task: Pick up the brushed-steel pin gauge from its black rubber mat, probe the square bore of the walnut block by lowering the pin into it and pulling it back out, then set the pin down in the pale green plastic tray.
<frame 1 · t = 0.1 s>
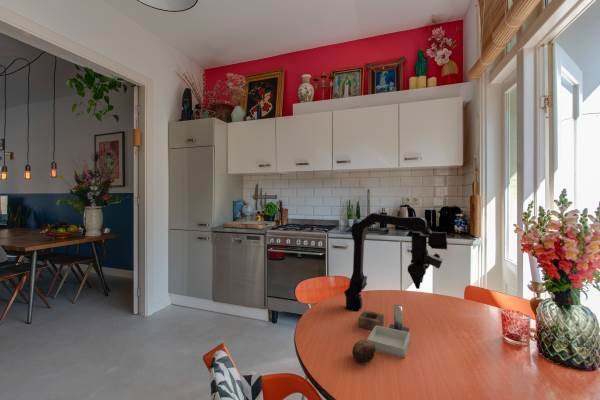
hand: (419, 285, 111), 15 cm above the table, fingers open, 9 cm apart
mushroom: (363, 361, 84), on the table
tray: (388, 344, 93), on the table
mat: (398, 330, 103), on the table
pin: (398, 329, 103), resting on mat
block: (371, 325, 107), on the table
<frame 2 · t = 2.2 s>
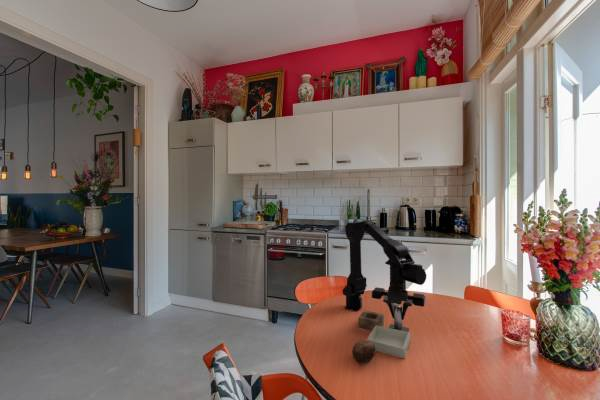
hand: (398, 318, 103), 5 cm above the table, fingers closed on pin, 3 cm apart
pin: (398, 329, 103), resting on mat, touching gripper
everything else where it was.
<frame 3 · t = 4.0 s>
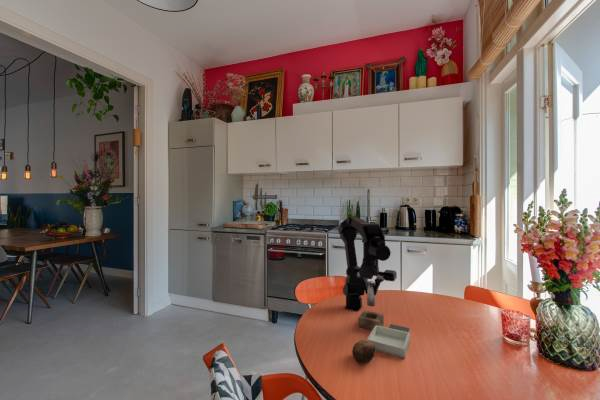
hand: (371, 294, 107), 12 cm above the table, fingers closed on pin, 3 cm apart
pin: (371, 304, 107), point 8 cm above the table, touching gripper
everything else where it was.
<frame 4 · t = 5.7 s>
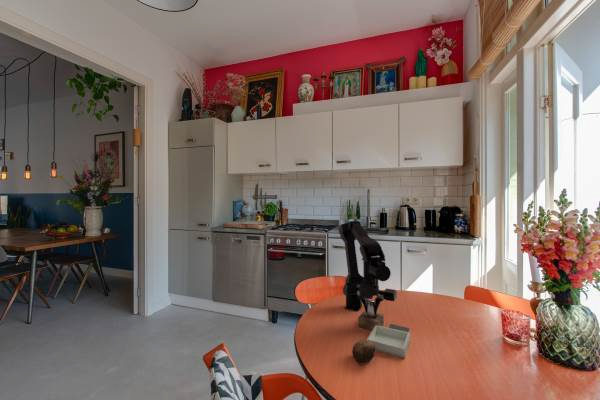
hand: (371, 313, 107), 5 cm above the table, fingers closed on pin, 3 cm apart
pin: (371, 323, 107), point 1 cm above the table, touching gripper
everything else where it was.
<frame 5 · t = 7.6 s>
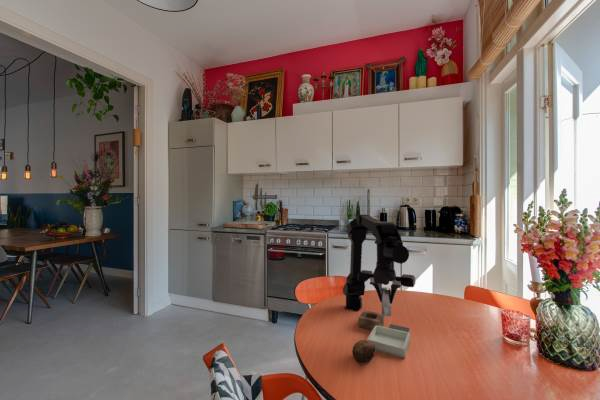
hand: (386, 302, 95), 14 cm above the table, fingers closed on pin, 3 cm apart
pin: (386, 314, 94), point 10 cm above the table, touching gripper
everything else where it was.
when the fingers open (6 cm above the table, at t = 9.2 s): pin drops 1 cm, resting on tray.
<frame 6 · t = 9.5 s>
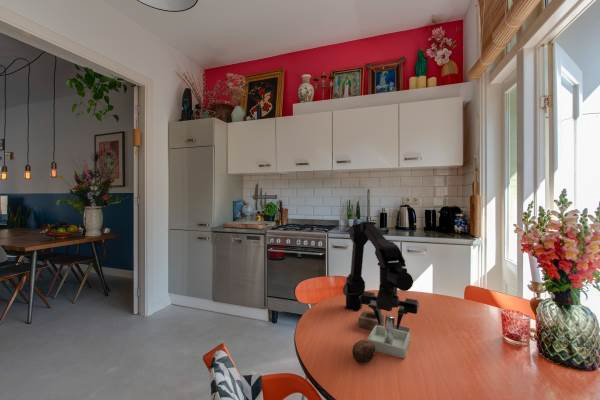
hand: (388, 326, 93), 6 cm above the table, fingers open, 6 cm apart
pin: (388, 342, 93), point 1 cm above the table, touching tray
everything else where it was.
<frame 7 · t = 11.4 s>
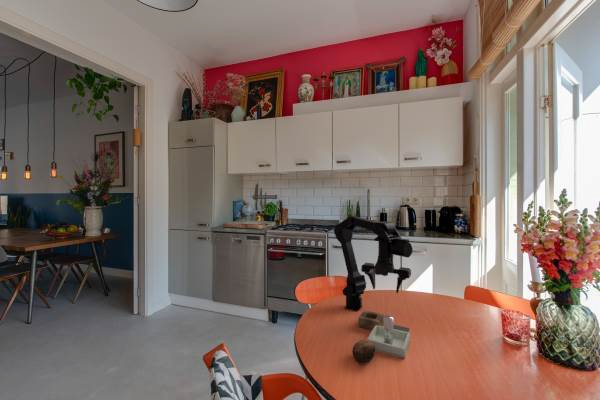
hand: (385, 291, 110), 13 cm above the table, fingers open, 9 cm apart
nothing on the table moved.
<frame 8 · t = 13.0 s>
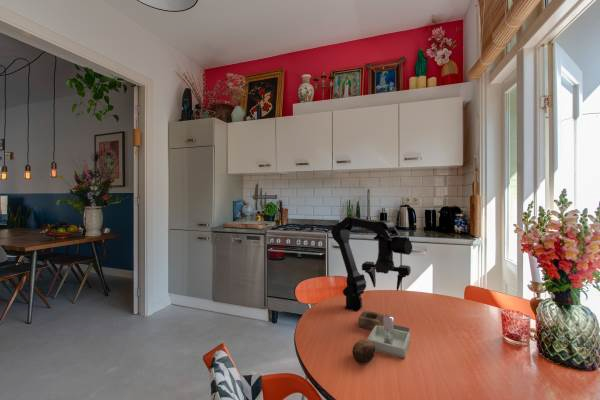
hand: (385, 288, 112), 13 cm above the table, fingers open, 9 cm apart
nothing on the table moved.
at the end: pin inside the target area on the tray (0.1 cm from its centre), point 0.6 cm above the tray's base; the gripper is holding nothing; pin touching tray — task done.
